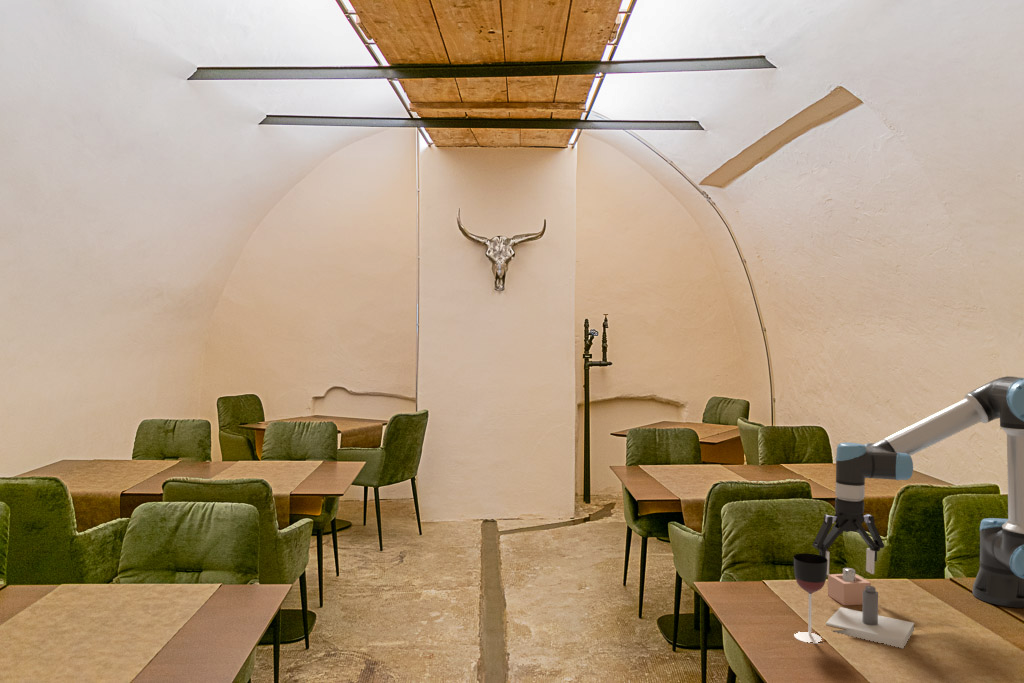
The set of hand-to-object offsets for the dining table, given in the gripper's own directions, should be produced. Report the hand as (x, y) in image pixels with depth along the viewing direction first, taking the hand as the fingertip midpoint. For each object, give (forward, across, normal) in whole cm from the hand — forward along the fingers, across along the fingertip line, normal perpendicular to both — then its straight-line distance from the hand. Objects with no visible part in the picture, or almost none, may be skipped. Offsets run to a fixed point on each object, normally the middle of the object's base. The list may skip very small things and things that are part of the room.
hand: (847, 573), depth 211 cm
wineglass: (+10, +22, +20) cm, 31 cm away
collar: (+8, 0, 0) cm, 8 cm away
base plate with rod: (+9, +4, +18) cm, 20 cm away
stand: (+9, 0, 0) cm, 9 cm away
